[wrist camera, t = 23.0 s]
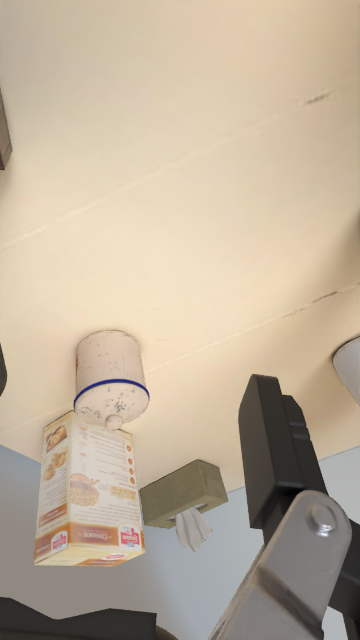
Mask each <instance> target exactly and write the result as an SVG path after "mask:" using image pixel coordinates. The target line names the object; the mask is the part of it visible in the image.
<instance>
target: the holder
mask: <svg viewBox="0 0 360 640" xmlns="http://www.w3.org/2000/svg"><path fill="white" fill-rule="evenodd" d="M11 152H12V145H11V140H10V135H9V130H8V125H7V120H6V115H5V110H4V105H3V100H2V95H1V90H0V170H5V167H6V165H7V162H8V160H9V157H10V155H11Z"/></svg>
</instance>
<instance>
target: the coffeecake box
mask: <svg viewBox="0 0 360 640" xmlns="http://www.w3.org/2000/svg"><path fill="white" fill-rule="evenodd" d="M143 553H145V546H144V538H143V529H142V521H141V512H140V504H139V495H138V487H137V479H136V470H135V462H134V454H133V445H132V436H131V435H130V434H128V433H125V432H123V431H120V430H118V429H116V430H110V429H108V428H107V427H102V426H94V425H91V424H88V423H86V422H84V421H82V420H81V419H80V418H79V417H78V416H77V414H76V412H74V411H70V412H69V413H67V414H66V415H64V416H63V417H61V418H60V419H58V420H56V421H55V422H53V423H51V424H50V425H48V426H47V427H45V428H44V435H43V447H42V461H41V474H40V487H39V501H38V513H37V527H36V540H35V553H34V565H78V566H115V565H118V564H120V563H123V562H125V561H127V560H129V559H131V558H133V557H136V556H138V555H140V554H143Z"/></svg>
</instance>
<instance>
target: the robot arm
mask: <svg viewBox="0 0 360 640" xmlns="http://www.w3.org/2000/svg"><path fill="white" fill-rule="evenodd" d="M6 382H7V371H6V366H5V362H4V357H3V353H2V348H1V344H0V396H1V394H2V393H3V391H4V389H5V386H6ZM238 423H239V433H240V441H241V450H242V459H243V468H244V477H245V486H246V495H247V504H248V512H249V521H250V528H254V529H262V530H263V536H264V544H263V546H262V548H261V550H260V551H259V553H258V555H257V556H256V558H255V560H254V562H253V563H252V565H251V567H250V569H249V570H248V572H247V574H246V576H245V577H244V579H243V581H242V583H241V584H240V586H239V588H238V590H237V591H236V593H235V595H234V597H233V598H232V600H231V602H230V604H229V605H228V607H227V609H226V610H225V612H224V614H223V615H222V617H221V618H220V620H219V622H218V623H217V625H216V627H215V628H214V630H213V632H212V633H211V635H210V637H209V639H208V640H323V639H324V631H323V630H322V627H321V626H322V620H323V617H324V614H325V611H326V609H327V606H330V607H331V608H333V609H335V610H337V611H339V612H341V613H342V614H343V618H344V623H345V627H346V632H347V637H348V640H360V525H359V524H357V523H355V522H354V521H352V520H351V519H349V518H348V517H347V515H346V514H345V512H344V510H343V509H342V508H341V506H340V505H339V504H338V503H337V502H336V501H335V500H333V499H332V498H331V497H329V494H328V492H327V490H326V487H325V483H324V480H323V477H322V474H321V471H320V467H319V464H318V461H317V457H316V454H315V451H314V448H313V444H312V441H310V435H309V431H308V428H306V422H305V418H304V415H303V412H302V409H301V408H300V407H299V405H298V404H297V403H296V401H295V400H294V399H293V397H292V396H290V395H282V393H281V389H280V385H279V381H278V379H277V378H276V377H272V376H265V375H257V374H252V375H251V377H250V380H249V383H248V385H247V388H246V391H245V393H244V396H243V399H242V402H241V404H240V408H239V416H238ZM156 616H157V614H156V613H148V612H139V611H130V610H121V609H111V608H109V609H105V610H100V611H96V612H92V613H87V614H83V615H78V616H74V617H69V618H65V619H60V620H57V619H52V618H50V617H48V616H46V615H44V614H42V613H40V612H38V611H36V610H34V609H32V608H30V607H28V606H26V605H23V604H21V603H20V602H17V601H15V600H13V599H11V598H4V597H0V640H178V639H177V638H176V637H175V636H173V635H172V634H170V633H169V632H167V631H166V630H165V629H163V628H160V627H159V626H157V625H156Z"/></svg>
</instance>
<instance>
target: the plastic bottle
mask: <svg viewBox="0 0 360 640" xmlns="http://www.w3.org/2000/svg"><path fill="white" fill-rule="evenodd" d="M333 365H334V367H335V370H336V372H337V374H338V376H339V378H340V380H341V382H342V384H343V385H344V386H345V388H346V389H347V390H348V392H349V393H350V394H351V395H352V397H353V398H354V399H355V401H356V402H357V403H358V405H359V406H360V337H358V338H356V339H354V340H352V341H350V342H348V343H347V344H345V345H344V346H342V347H341V348H340V349H339V350H338V351H337V353H336V354H335V356H334V359H333Z"/></svg>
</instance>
